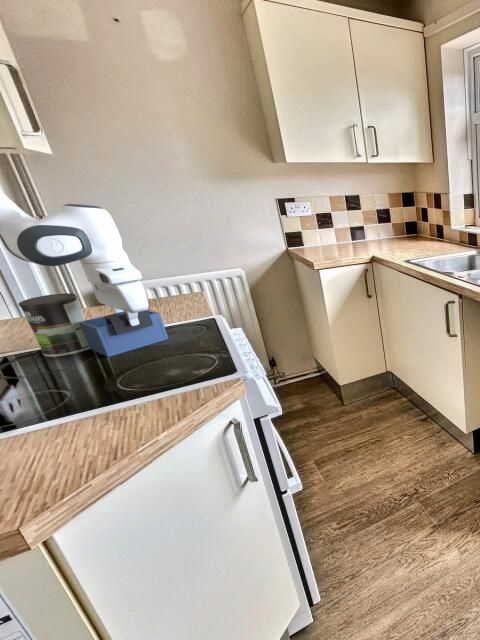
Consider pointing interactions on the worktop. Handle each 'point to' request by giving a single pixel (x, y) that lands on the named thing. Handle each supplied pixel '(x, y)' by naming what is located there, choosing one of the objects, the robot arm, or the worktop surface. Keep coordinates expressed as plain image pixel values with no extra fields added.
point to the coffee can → (56, 323)
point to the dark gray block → (122, 325)
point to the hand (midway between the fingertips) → (130, 323)
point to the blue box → (121, 335)
